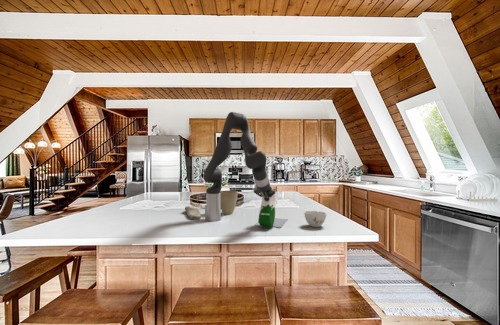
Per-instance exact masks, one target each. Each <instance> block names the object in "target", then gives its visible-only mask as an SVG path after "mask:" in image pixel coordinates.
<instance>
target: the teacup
mask: <svg viewBox="0 0 500 325" xmlns="http://www.w3.org/2000/svg"><path fill="white" fill-rule="evenodd" d="M303 214H304V218H305V220H306V222H307V224H308V225H309V227H312V228H321V227H322V225H323V224H324V223H325V220H326V217H327V213H326V212H323V211H318V210H317V211H316V210H308V211H307V210H306V211H304V213H303Z"/></svg>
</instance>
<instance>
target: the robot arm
mask: <svg viewBox="0 0 500 325" xmlns="http://www.w3.org/2000/svg"><path fill="white" fill-rule="evenodd" d="M232 130H237V131H239V130H240V131H241V133H242V135H241V136H240V146H241V148H242V150H243V152H244V161H245V166H246V167H247V168H248V169H249V170H251V173H252V175H253V176H252V177H253V181H254V184H255V187H256V188H255V187H254V188H253V193H254V195H255V194H256V195H257V196H259V197H260V198H262V197H263V198H264V200H266V201H269V199H270V198H269V197H272V196H273V195H274V194H275V195H276V191H277V190H276V189H277V188H274V189H273V187H271V183H270V179H269V175H268V174H267V168H266V167H267V156H266V153H265V152H263V151H260V150H258V147H257V144H256V142H255V140H254V138H253V136H252V133H251V128H250V124H249V120H248V118H247V116H246V115H245V114H243V113H240V112H236V111H235V112H234V111H230V112H229V113H228V114H227V116H226V118H225V121H224V125H223V128H222V132H221V135H220V137H219V139H218V141H217V143H216V146H215V148H214V150H213V154H212V156H211V157H210V160H209V162H208V164H207V166H206V168H205V170H204V172H203V181H204V182H205V183H207V184H212V185H211V186H210V187H207V188H206V190H205V191H206V192H205V195H206V196H205V198H206V199H205V200H206V202H205V205H204V220H205V221H209V222H215V221H217V222H218V221H220V220H221V219H222V217H221V215H222V214H221V213H222V210H221V191H222V181H223V173H222V170H221V169H220V168H219V166H220V165H221V164H222V163H224V162H225V161H226V160H228V158H229V156H230V154H231V151H232V149H233V146H232V141H231V137H230V136H231V135H230V134H231V131H232ZM270 191H271V192H270ZM269 192H270V194H269Z"/></svg>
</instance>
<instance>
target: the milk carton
mask: <svg viewBox="0 0 500 325" xmlns="http://www.w3.org/2000/svg"><path fill="white" fill-rule="evenodd" d="M270 192H271V191H270ZM270 192H269V194H270ZM269 198H270V199H269V201H266V200H264V198H263V197H261V203H260V207H259V208H260V209H259V212H258V221H257V223H258V222H259V224H260V226H259V227H260V228H269V229H273V228H274V227H273V224H274V219H275V218H276V213H277V212H276V211H277V205H278V197H277V195H276V193H275V194H274V195H273V196H272V197H269Z"/></svg>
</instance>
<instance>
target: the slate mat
mask: <svg viewBox="0 0 500 325" xmlns="http://www.w3.org/2000/svg"><path fill="white" fill-rule="evenodd" d="M286 222H288V219H287V218H276V217H275V219H274V224H273V228H276V229H277V228H278V229H279V228H280V229H281V228H282V227H283V226H284V225H285V223H286ZM254 226H255V227H261V226H260V224H259V222H258V221H257V222H256V223H255V224H254Z"/></svg>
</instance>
